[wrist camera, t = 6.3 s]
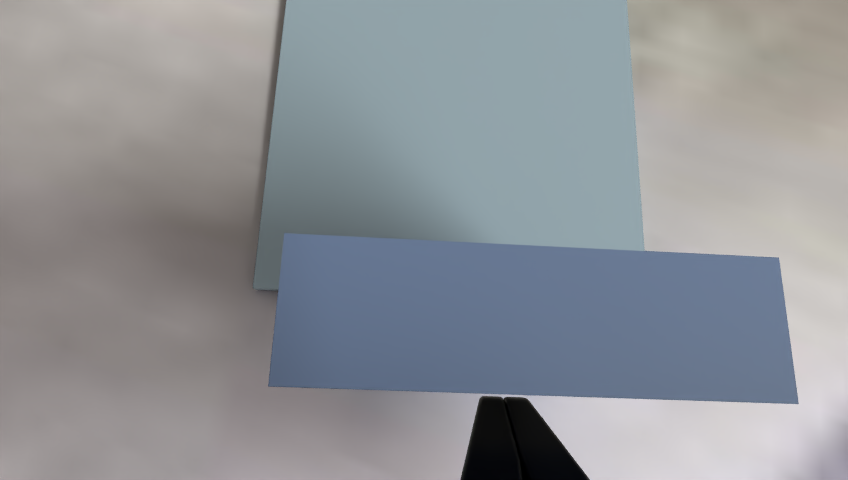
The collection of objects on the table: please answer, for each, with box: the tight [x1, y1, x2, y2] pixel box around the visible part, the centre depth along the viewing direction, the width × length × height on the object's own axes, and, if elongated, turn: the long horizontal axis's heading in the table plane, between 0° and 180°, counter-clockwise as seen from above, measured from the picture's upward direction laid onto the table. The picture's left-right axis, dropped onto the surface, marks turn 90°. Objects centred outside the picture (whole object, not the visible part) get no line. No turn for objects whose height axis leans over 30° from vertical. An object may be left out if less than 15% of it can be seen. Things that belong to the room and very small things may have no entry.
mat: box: [253, 0, 644, 291], centre depth 18 cm, size 16×13×1 cm
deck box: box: [268, 233, 799, 404], centre depth 12 cm, size 2×7×10 cm, turn 88°
